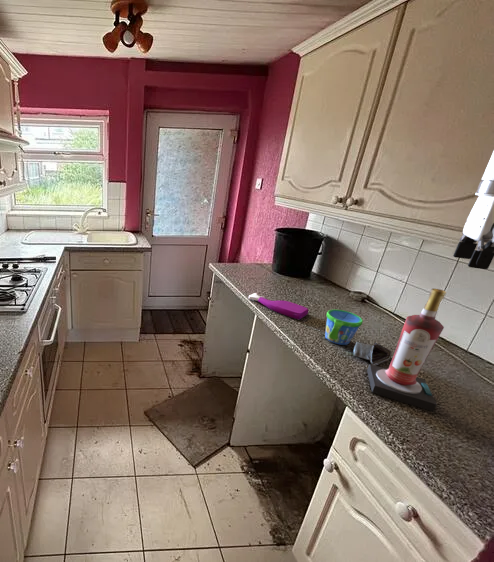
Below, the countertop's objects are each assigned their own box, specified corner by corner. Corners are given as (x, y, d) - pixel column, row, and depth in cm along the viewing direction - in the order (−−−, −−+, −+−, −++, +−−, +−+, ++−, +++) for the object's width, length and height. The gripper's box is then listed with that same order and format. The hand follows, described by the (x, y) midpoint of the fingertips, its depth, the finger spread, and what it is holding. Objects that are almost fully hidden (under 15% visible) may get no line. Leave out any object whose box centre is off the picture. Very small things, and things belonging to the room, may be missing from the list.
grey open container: (369, 348, 111) (355, 328, 106) (393, 353, 104) (379, 333, 100) (358, 370, 108) (343, 351, 104) (382, 377, 102) (367, 358, 98)
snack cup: (343, 354, 106) (352, 328, 102) (311, 339, 114) (318, 315, 110) (361, 340, 114) (370, 316, 110) (330, 328, 122) (338, 305, 118)
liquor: (417, 380, 89) (459, 291, 79) (414, 392, 84) (459, 299, 74) (384, 368, 94) (420, 283, 83) (380, 379, 89) (418, 289, 79)
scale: (421, 386, 91) (425, 377, 90) (433, 411, 82) (437, 402, 81) (366, 370, 98) (370, 362, 97) (371, 392, 88) (375, 384, 87)
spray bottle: (298, 321, 127) (243, 301, 145) (309, 314, 133) (256, 295, 151) (299, 314, 126) (244, 295, 144) (311, 308, 132) (257, 290, 150)
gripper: (550, 193, 61) (508, 275, 67) (507, 188, 74) (476, 257, 81) (495, 191, 64) (460, 269, 70) (464, 186, 78) (437, 252, 84)
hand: (469, 262), depth 76 cm, fingers open, 9 cm apart
